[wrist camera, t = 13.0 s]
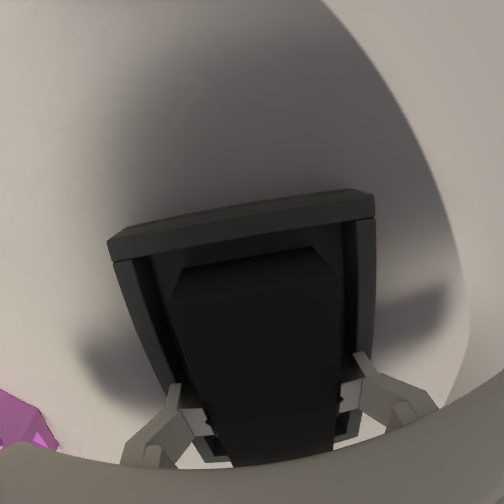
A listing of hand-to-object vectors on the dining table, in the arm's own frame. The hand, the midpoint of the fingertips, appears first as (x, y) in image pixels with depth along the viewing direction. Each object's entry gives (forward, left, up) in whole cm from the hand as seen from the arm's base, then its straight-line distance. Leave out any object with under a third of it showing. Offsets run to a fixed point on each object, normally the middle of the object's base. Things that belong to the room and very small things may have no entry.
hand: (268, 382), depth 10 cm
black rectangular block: (0, 0, -2) cm, 2 cm away
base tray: (0, 0, -2) cm, 2 cm away
